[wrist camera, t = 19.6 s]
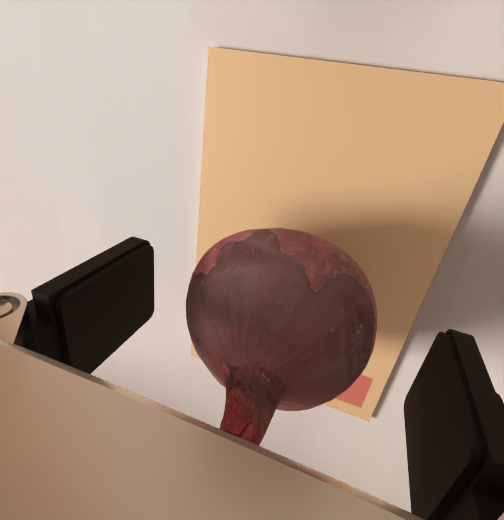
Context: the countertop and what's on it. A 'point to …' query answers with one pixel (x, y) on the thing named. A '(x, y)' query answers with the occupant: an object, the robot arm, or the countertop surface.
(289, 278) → the vegetable
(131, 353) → the countertop surface
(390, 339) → the letter
